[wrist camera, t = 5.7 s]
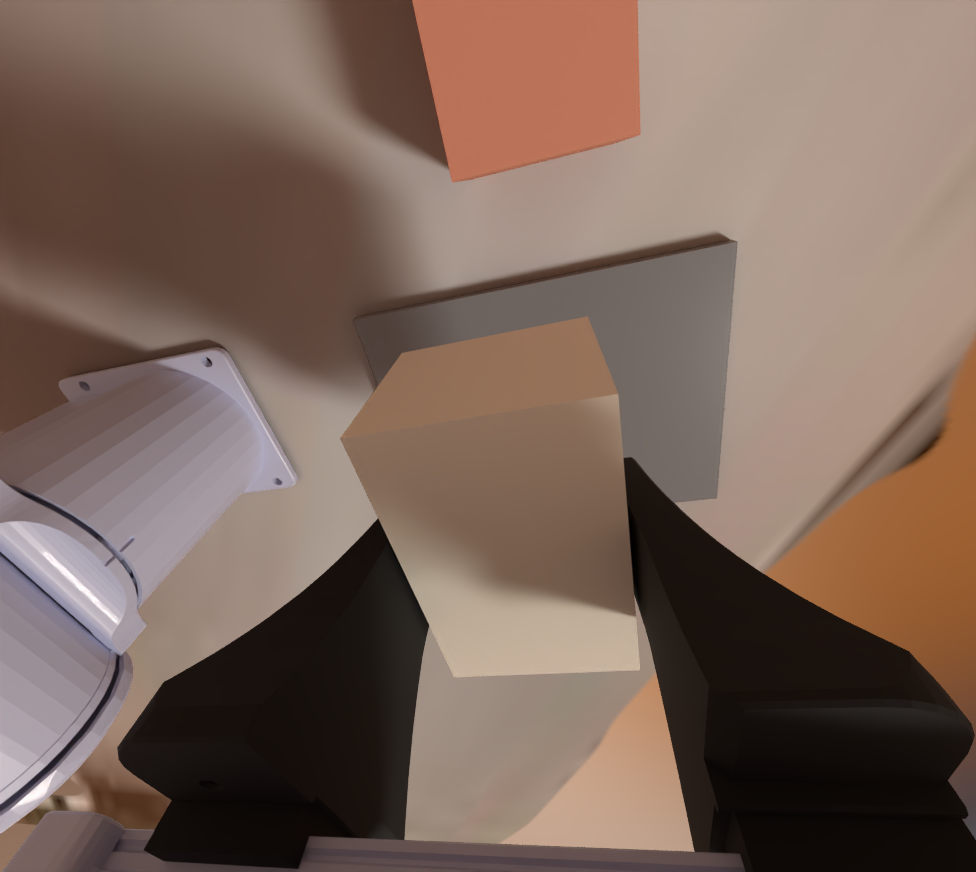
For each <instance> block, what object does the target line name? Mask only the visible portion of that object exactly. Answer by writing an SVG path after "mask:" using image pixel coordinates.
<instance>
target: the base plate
mask: <svg viewBox="0 0 976 872" xmlns="http://www.w3.org/2000/svg"><path fill="white" fill-rule="evenodd" d="M736 254H737V241H734V240H729V241H724V242H719V243H714V244H709V245H704V246H699V247H694V248H690V249H685V250H680V251H675V252H670V253H665V254H660V255H655V256H651V257H646V258H641V259H636V260H631V261H626V262H621V263H617V264H612V265H607V266H602V267H597V268H592V269H587V270H582V271H578V272H573V273H568V274H563V275H558V276H553V277H548V278H543V279H539V280H534V281H529V282H524V283H519V284H514V285H509V286H504V287H500V288H495V289H490V290H485V291H480V292H475V293H470V294H465V295H461V296H456V297H451V298H446V299H441V300H436V301H431V302H426V303H422V304H417V305H412V306H407V307H402V308H397V309H392V310H387V311H383V312H378V313H373V314H368V315H363V316H358V317H356V318H355V319H354V320H353V322H354V324H355V327H356V329H357V332H358V335H359V337H360V340H361V343H362V345H363V348H364V350H365V353H366V356H367V358H368V361H369V363H370V366H371V369H372V371H373V374H374V377H375V379H376V382H377V384H378V385H379V384H380V383H381V381H382V380H383V379H384V377H385V376H386V374H387V373H388V372H389V370H390V369H391V367H392V366H393V365H394V363H395V362H396V361H397V359H398V358H399V356H400V355H401V354H402V353H404V352H409V351H414V350H419V349H425V348H430V347H435V346H440V345H445V344H450V343H455V342H460V341H465V340H470V339H475V338H480V337H486V336H491V335H496V334H501V333H506V332H511V331H516V330H521V329H526V328H531V327H536V326H541V325H547V324H552V323H557V322H562V321H567V320H572V319H577V318H582V317H587V316H588V318H589V321H590V323H591V326H592V328H593V331H594V333H595V336H596V339H597V341H598V344H599V346H600V349H601V351H602V354H603V356H604V359H605V361H606V364H607V367H608V369H609V372H610V374H611V377H612V379H613V382H614V384H615V387H616V389H617V392H618V396H619V409H620V422H621V435H622V447H623V458H627V457H632V458H633V459H635V460H636V461H637V463H638V464H639V465H640V466H641V468H642V469H643V470H644V471H645V473H646V474H647V475H648V476H649V477H650V478H651V480H652V481H653V482H654V483H655V484H656V485H657V486H658V487H659V488H660V489H661V490H662V491H663V492H664V494H665V495H666V496H667V497H669V498H670V499H671V500H672V501H673V502H674V503H675V502H685V501H694V500H704V499H714V498H717V490H718V477H719V465H720V453H721V440H722V428H723V415H724V403H725V390H726V378H727V366H728V353H729V341H730V328H731V316H732V303H733V291H734V279H735V266H736Z"/></svg>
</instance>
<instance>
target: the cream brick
mask: <svg viewBox="0 0 976 872" xmlns="http://www.w3.org/2000/svg"><path fill="white" fill-rule="evenodd" d="M340 439H341V441H342V443H343V445H344V447H345V449H346V452H347V454H348V456H349V458H350V460H351V462H352V464H353V466H354V468H355V470H356V473H357V475H358V477H359V479H360V481H361V483H362V485H363V487H364V489H365V491H366V493H367V496H368V498H369V500H370V502H371V504H372V506H373V508H374V510H375V512H376V514H377V517H378V519H379V521H380V523H381V525H382V527H383V529H384V531H385V533H386V535H387V537H388V540H389V542H390V544H391V546H392V548H393V550H394V552H395V554H396V556H397V558H398V561H399V563H400V565H401V567H402V569H403V571H404V573H405V575H406V577H407V579H408V582H409V584H410V586H411V588H412V590H413V592H414V594H415V596H416V598H417V600H418V602H419V605H420V607H421V609H422V611H423V613H424V615H425V617H426V619H427V621H428V623H429V626H430V628H431V630H432V632H433V634H434V636H435V638H436V640H437V642H438V644H439V646H440V649H441V651H442V653H443V655H444V657H445V659H446V661H447V663H448V665H449V667H450V670H451V672H452V674H453V676H454V677H474V676H500V675H526V674H552V673H578V672H604V671H630V670H640V663H639V650H638V638H637V625H636V612H635V600H634V587H633V574H632V562H631V549H630V536H629V523H628V511H627V498H626V485H625V473H624V460H623V447H622V435H621V422H620V409H619V396H618V392H617V389H616V387H615V384H614V382H613V379H612V377H611V374H610V372H609V369H608V367H607V364H606V361H605V359H604V356H603V354H602V351H601V349H600V346H599V344H598V341H597V339H596V336H595V333H594V331H593V328H592V326H591V323H590V321H589V318H588V316H587V317H582V318H577V319H572V320H567V321H562V322H557V323H552V324H547V325H541V326H536V327H531V328H526V329H521V330H516V331H511V332H506V333H501V334H496V335H491V336H486V337H480V338H475V339H470V340H465V341H460V342H455V343H450V344H445V345H440V346H435V347H430V348H425V349H419V350H414V351H409V352H404V353H402V354H401V355H400V356H399V358H398V359H397V361H396V362H395V363H394V365H393V366H392V367H391V369H390V370H389V372H388V373H387V374H386V376H385V377H384V379H383V380H382V381H381V383H380V384H379V385H378V387H377V388H376V390H375V391H374V392H373V394H372V395H371V397H370V398H369V399H368V401H367V402H366V403H365V405H364V406H363V408H362V409H361V410H360V412H359V413H358V415H357V416H356V417H355V419H354V420H353V421H352V423H351V424H350V426H349V427H348V428H347V430H346V431H345V433H344V434H343V435H342V437H341V438H340Z"/></svg>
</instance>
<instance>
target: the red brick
mask: <svg viewBox="0 0 976 872" xmlns="http://www.w3.org/2000/svg"><path fill="white" fill-rule="evenodd" d="M412 2H413V7H414V11H415V16H416V20H417V25H418V29H419V34H420V38H421V43H422V48H423V52H424V57H425V61H426V66H427V70H428V75H429V79H430V84H431V88H432V93H433V97H434V102H435V107H436V111H437V116H438V120H439V125H440V129H441V134H442V138H443V143H444V147H445V152H446V156H447V161H448V166H449V170H450V175H451V179H452V182H458V181H465V180H471V179H475V178H479V177H483V176H487V175H491V174H495V173H499V172H503V171H507V170H511V169H515V168H519V167H523V166H527V165H531V164H535V163H539V162H543V161H547V160H551V159H555V158H559V157H563V156H567V155H571V154H575V153H579V152H583V151H587V150H591V149H594V148H598V147H602V146H606V145H610V144H614V143H617V142H620V141H623V140H626V139H629V138H632V137H635V136H638V135H640V95H639V50H638V5H637V0H412Z"/></svg>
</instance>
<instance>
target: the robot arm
mask: <svg viewBox="0 0 976 872" xmlns="http://www.w3.org/2000/svg"><path fill="white" fill-rule="evenodd" d="M206 357H208V358H209V359H210V360H211V361H212V363H210V362H209V361H208V360H207V358H206ZM58 385H59V388H60V390H61V391H62V393H63V394H64V395H65V396H66V398H67V399H68V400H69V401H68V402H66V403H64V404H62V405H60V406H58V407H56V408H54V409H52V410H50V411H48V412H46V413H44V414H42V415H40V416H38V417H36V418H34V419H32V420H30V421H28V422H26V423H24V424H22V425H20V426H18V427H16V428H14V429H12V430H10V431H8V432H6V433H4V434H2V435H0V833H2V832H3V831H5V830H6V829H8V828H9V827H10V826H12V825H13V824H14V823H16V822H17V821H18V820H20V819H21V818H22V817H24V816H25V815H27V814H28V813H29V812H31V811H32V810H33V809H35V808H36V807H37V806H38V805H40V804H41V803H42V802H43V801H44V800H46V799H47V798H48V797H49V796H50V795H51V794H53V793H54V792H55V791H56V790H57V789H58V788H59V787H60V786H61V785H62V784H63V783H64V782H65V781H66V780H67V779H68V778H70V777H71V775H72V774H73V773H74V772H75V771H76V770H77V769H78V768H79V767H80V766H81V765H82V764H83V763H84V761H85V760H86V759H87V758H88V757H89V755H90V754H91V753H92V752H93V751H94V749H95V748H96V747H97V745H98V744H99V743H100V741H101V740H102V738H103V737H104V736H105V734H106V733H107V731H108V729H109V728H110V726H111V724H112V723H113V722H114V720H115V718H116V716H117V715H118V713H119V711H120V709H121V708H122V706H123V704H124V701H125V699H126V697H127V694H128V692H129V690H130V686H131V682H132V678H133V664H132V661H131V658H130V656H129V655H128V653H127V652H126V650H127V648H128V647H129V646H130V645H131V644H132V643H133V641H134V640H135V639H136V638H137V637H138V635H139V634H140V633H141V632H142V631H143V629H144V628H145V627H146V626H147V625H146V623H145V621H144V620H143V619H142V618H141V616H140V615H139V613H138V610H137V609H138V608H139V607H140V606H141V605H142V604H143V603H144V601H145V600H146V599H147V598H148V597H149V596H150V595H151V594H152V592H153V591H154V590H155V589H156V588H157V587H158V586H159V585H160V584H161V582H162V581H163V580H164V579H165V578H166V577H167V576H168V575H169V574H170V572H171V571H172V570H173V569H174V568H175V567H176V566H177V565H178V563H179V562H180V561H181V560H182V559H183V558H184V557H185V556H186V555H187V553H188V552H189V551H190V550H191V549H192V548H193V547H194V546H195V545H196V543H197V542H198V541H199V540H200V539H201V538H202V537H203V536H204V534H205V533H206V532H207V531H208V530H209V529H210V528H211V527H212V526H213V524H214V523H215V522H216V521H217V520H218V519H219V518H220V517H221V516H222V514H223V513H224V512H225V511H226V510H227V509H228V508H229V507H230V505H231V504H232V503H233V502H234V501H235V500H236V499H237V498H238V497H239V495H240V494H241V493H248V492H256V491H264V490H272V489H279V488H287V487H292V486H293V485H294V484H295V483H296V482H297V479H298V478H297V475H296V473H295V471H294V470H293V468H292V466H291V464H290V462H289V461H288V459H287V457H286V455H285V454H284V452H283V450H282V448H281V446H280V445H279V443H278V441H277V439H276V437H275V436H274V434H273V432H272V430H271V428H270V427H269V425H268V423H267V421H266V419H265V418H264V416H263V414H262V412H261V410H260V409H259V407H258V405H257V403H256V401H255V400H254V398H253V396H252V394H251V392H250V391H249V389H248V387H247V385H246V384H245V382H244V380H243V378H242V376H241V375H240V373H239V371H238V369H237V367H236V366H235V364H234V362H233V360H232V358H231V357H230V355H229V354H228V352H227V351H225V350H224V349H222V348H220V347H213V348H208V349H203V350H198V351H193V352H189V353H184V354H179V355H174V356H169V357H164V358H159V359H154V360H149V361H145V362H140V363H135V364H130V365H125V366H120V367H115V368H110V369H105V370H101V371H96V372H91V373H86V374H81V375H76V376H71V377H67V378H65V379H63V380H61V381H59V383H58ZM623 460H624V473H625V485H626V498H627V511H628V523H629V536H630V549H631V562H632V574H633V587H634V595H635V598H636V601H637V604H638V607H639V610H640V613H641V616H642V619H643V623H644V626H645V629H646V632H647V636H648V640H649V643H650V647H651V651H652V656H653V660H654V665H655V669H656V673H657V678H658V682H659V687H660V691H661V696H662V700H663V705H664V709H665V714H666V718H667V723H668V727H669V732H670V737H671V741H672V746H673V751H674V755H675V759H676V764H677V769H678V774H679V779H680V783H681V788H682V793H683V798H684V803H685V807H686V812H687V817H688V822H689V827H690V832H691V836H692V841H693V846H694V851H695V852H684V851H659V850H634V849H610V848H586V847H560V846H536V845H512V844H487V843H463V842H438V841H413V840H404V836H405V819H406V805H407V790H408V776H409V765H410V755H411V744H412V734H413V725H414V716H415V708H416V699H417V691H418V684H419V677H420V670H421V663H422V656H423V651H424V646H425V641H426V636H427V632H428V628H429V623H428V621H427V619H426V617H425V615H424V613H423V611H422V609H421V607H420V605H419V602H418V600H417V598H416V596H415V594H414V592H413V590H412V588H411V586H410V584H409V582H408V579H407V577H406V575H405V573H404V571H403V569H402V567H401V565H400V563H399V561H398V558H397V556H396V554H395V552H394V550H393V548H392V546H391V544H390V542H389V540H388V537H387V535H386V533H385V531H384V529H383V527H382V525H381V523H380V521H379V519H377V520H376V521H375V522H374V523H373V525H372V526H371V527H370V528H369V529H368V530H367V531H366V532H365V533H364V534H363V535H362V536H361V537H360V538H359V540H358V541H357V542H356V543H355V544H354V545H353V546H352V547H351V548H350V549H349V550H348V551H347V552H346V553H345V554H344V555H343V556H342V557H341V558H340V559H339V560H338V561H337V562H336V563H334V564H333V565H332V566H331V567H330V568H329V569H328V570H327V571H326V572H325V573H324V574H322V575H321V576H320V577H319V578H318V579H317V580H315V581H314V582H313V583H312V584H311V585H310V586H308V587H307V588H306V589H305V590H304V591H302V592H301V593H300V594H299V595H297V596H296V597H295V598H293V599H292V600H291V601H290V602H288V603H287V604H286V605H284V606H283V607H282V608H280V609H279V610H278V611H276V612H275V613H274V614H272V615H271V616H270V617H268V618H267V619H266V620H264V621H263V622H261V623H260V624H258V625H257V626H256V627H254V628H253V629H251V630H250V631H248V632H247V633H245V634H244V635H242V636H241V637H239V638H238V639H236V640H234V641H233V642H231V643H230V644H228V645H227V646H225V647H224V648H222V649H220V650H219V651H217V652H215V653H214V654H212V655H210V656H209V657H207V658H205V659H204V660H202V661H200V662H198V663H197V664H195V665H193V666H191V667H190V668H188V669H186V670H185V671H183V672H181V673H179V674H178V675H176V676H174V677H172V678H171V679H169V680H167V681H165V682H164V683H163V684H162V685H161V687H160V688H159V690H158V691H157V692H156V694H155V695H154V697H153V698H152V699H151V701H150V702H149V704H148V705H147V706H146V708H145V709H144V711H143V712H142V713H141V715H140V716H139V718H138V719H137V721H136V722H135V723H134V725H133V726H132V728H131V729H130V730H129V732H128V733H127V735H126V736H125V737H124V739H123V740H122V742H121V743H120V744H119V746H118V747H117V748H118V757H119V760H120V762H121V763H122V765H123V766H124V767H125V768H126V769H127V770H129V771H130V772H131V773H132V774H134V775H135V776H137V777H138V778H140V779H141V780H143V781H144V782H145V783H147V784H148V785H150V786H151V787H153V788H154V789H156V790H157V791H159V792H160V793H162V794H163V795H165V796H166V797H168V798H169V799H171V800H172V801H171V802H170V804H169V806H168V808H167V809H166V811H165V813H164V815H163V816H162V818H161V820H160V822H159V823H158V825H157V827H156V829H155V830H143V829H124V827H123V825H122V824H120V823H119V822H117V821H116V820H114V819H112V818H110V817H108V816H105V815H102V814H98V813H93V812H78V811H51V812H48V813H46V814H45V815H44V817H43V818H42V819H41V821H40V822H39V823H38V825H37V826H36V828H35V829H34V830H33V831H32V833H31V834H30V835H29V837H28V838H27V839H26V841H25V842H24V843H23V845H22V846H21V847H20V849H19V850H18V851H17V852H16V854H15V855H14V856H13V858H12V859H11V860H10V862H9V863H8V864H7V866H6V867H5V868H4V870H3V871H2V872H976V840H975V838H974V837H973V835H972V834H971V832H970V831H969V829H968V828H967V826H966V825H965V823H964V822H963V820H962V819H965V818H966V817H967V816H968V812H967V809H966V807H965V805H964V804H963V802H962V801H961V799H960V798H959V796H958V795H957V793H956V792H955V790H954V789H953V788H952V786H951V785H950V783H949V782H948V779H949V778H950V776H951V775H952V774H953V772H954V771H955V770H956V768H957V767H958V766H959V764H960V763H961V762H962V761H963V759H964V758H965V757H966V755H967V754H968V752H969V750H970V748H971V745H972V743H973V740H974V736H975V735H974V731H973V728H972V724H971V723H970V722H969V720H968V719H967V718H966V716H965V715H964V714H963V712H962V711H961V710H960V709H959V708H958V706H957V705H956V704H955V702H954V701H953V700H952V699H951V697H950V696H949V695H948V694H947V693H946V691H945V690H944V689H943V688H942V687H941V685H940V684H939V683H938V682H937V681H936V680H935V679H934V678H933V676H932V675H930V673H929V672H928V671H927V670H926V669H925V668H924V667H923V666H922V665H921V664H920V663H919V662H918V661H917V660H916V659H915V658H914V657H913V655H912V654H911V653H910V652H909V651H907V650H905V649H903V648H901V647H899V646H897V645H895V644H893V643H890V642H888V641H886V640H884V639H882V638H880V637H878V636H876V635H874V634H872V633H870V632H868V631H866V630H863V629H861V628H859V627H857V626H855V625H853V624H851V623H849V622H847V621H845V620H843V619H841V618H839V617H837V616H835V615H833V614H831V613H830V612H828V611H826V610H824V609H822V608H821V607H819V606H817V605H815V604H813V603H811V602H809V601H808V600H806V599H804V598H802V597H800V596H799V595H797V594H795V593H794V592H792V591H790V590H789V589H787V588H786V587H784V586H782V585H781V584H779V583H778V582H776V581H774V580H773V579H771V578H769V577H768V576H766V575H765V574H763V573H761V572H760V571H758V570H757V569H755V568H754V567H752V566H751V565H749V564H748V563H747V562H745V561H744V560H742V559H741V558H739V557H738V556H737V555H735V554H734V553H733V552H731V551H730V550H729V549H727V548H726V547H724V546H723V545H722V544H720V543H719V542H718V541H717V540H715V539H714V538H713V537H712V536H710V535H709V534H708V533H707V532H706V531H704V530H703V529H702V528H701V527H700V526H699V525H697V524H696V523H695V522H694V521H693V520H692V519H691V518H689V517H688V516H687V515H686V514H685V513H684V512H683V511H682V510H681V509H680V508H679V507H678V506H677V505H676V504H675V503H674V502H673V501H672V500H671V499H670V498H669V497H667V496H666V495H665V494H664V492H663V491H662V490H661V489H660V488H659V487H658V486H657V485H656V484H655V483H654V482H653V481H652V480H651V478H650V477H649V476H648V475H647V474H646V473H645V471H644V470H643V469H642V468H641V466H640V465H639V464H638V463H637V461H636V460H635V459H633V458H632V457H627V458H623ZM277 478H279V479H280V480H281V481H280V480H278V479H277Z"/></svg>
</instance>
